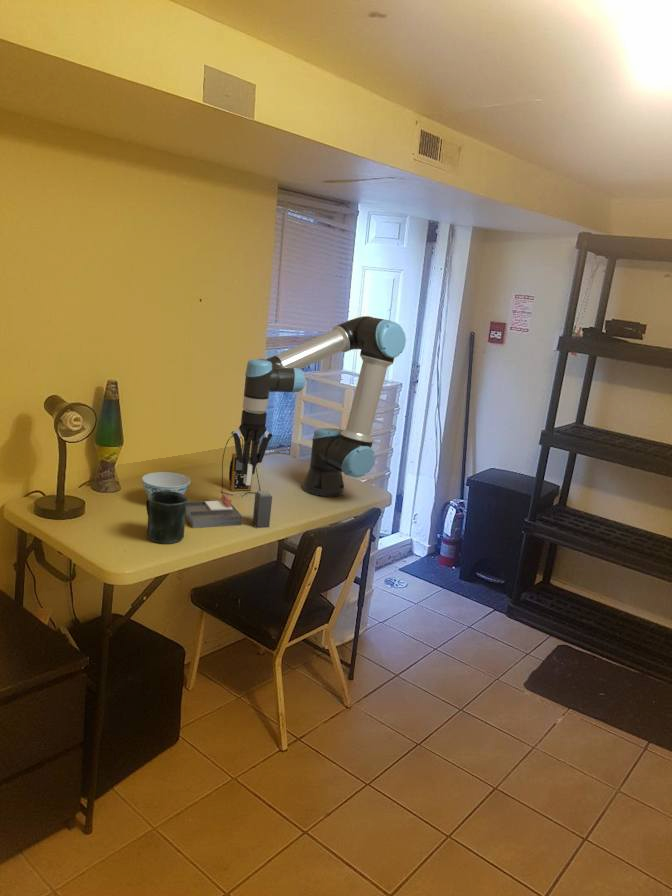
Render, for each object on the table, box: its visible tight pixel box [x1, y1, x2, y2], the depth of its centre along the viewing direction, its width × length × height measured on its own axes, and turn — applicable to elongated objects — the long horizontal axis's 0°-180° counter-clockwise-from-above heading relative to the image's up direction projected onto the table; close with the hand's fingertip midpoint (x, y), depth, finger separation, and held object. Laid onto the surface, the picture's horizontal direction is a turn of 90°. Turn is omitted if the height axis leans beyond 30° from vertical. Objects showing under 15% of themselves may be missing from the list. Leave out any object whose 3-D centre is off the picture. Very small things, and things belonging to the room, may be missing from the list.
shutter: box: [204, 493, 233, 510], centre depth 215 cm, size 7×7×3 cm
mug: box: [145, 491, 189, 545], centre depth 196 cm, size 11×15×12 cm
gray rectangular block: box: [252, 490, 273, 529], centre depth 212 cm, size 4×4×11 cm
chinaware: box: [141, 471, 191, 496], centre depth 222 cm, size 15×15×8 cm
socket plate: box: [185, 499, 243, 529], centre depth 214 cm, size 15×14×4 cm
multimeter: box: [221, 435, 261, 498], centre depth 238 cm, size 15×10×20 cm
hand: (246, 483), depth 218 cm, fingers closed
